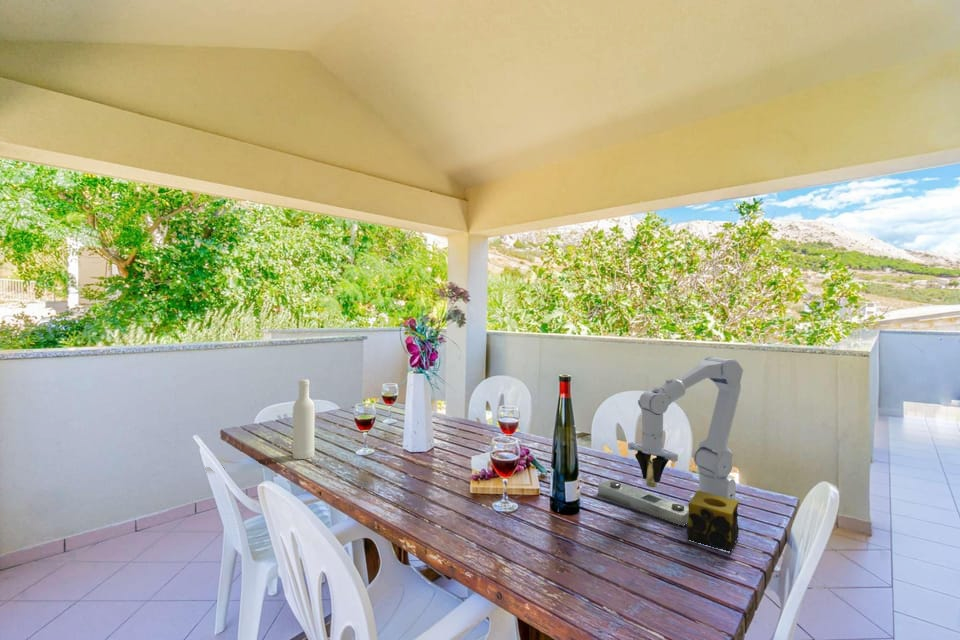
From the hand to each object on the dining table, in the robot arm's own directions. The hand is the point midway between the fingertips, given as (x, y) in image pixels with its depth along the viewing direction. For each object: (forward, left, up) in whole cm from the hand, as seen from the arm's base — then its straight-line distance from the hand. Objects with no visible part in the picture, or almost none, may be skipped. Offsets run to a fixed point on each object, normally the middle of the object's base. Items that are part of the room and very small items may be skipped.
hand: (651, 479), depth 128 cm
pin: (0, 0, -2) cm, 2 cm away
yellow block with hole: (-19, +4, -9) cm, 21 cm away
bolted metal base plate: (+2, 0, -9) cm, 9 cm away
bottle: (+108, +66, -9) cm, 127 cm away
